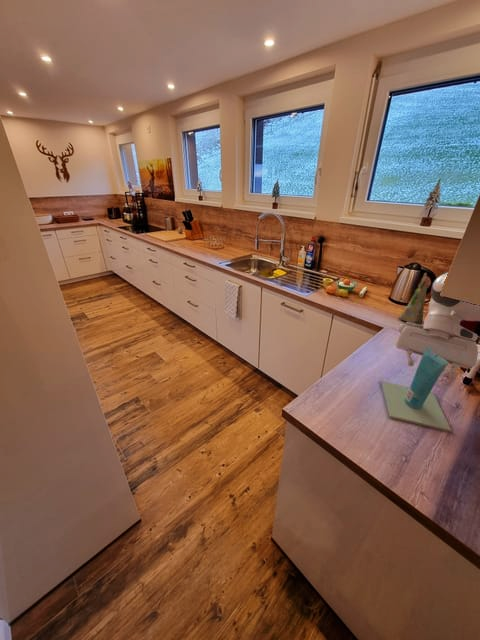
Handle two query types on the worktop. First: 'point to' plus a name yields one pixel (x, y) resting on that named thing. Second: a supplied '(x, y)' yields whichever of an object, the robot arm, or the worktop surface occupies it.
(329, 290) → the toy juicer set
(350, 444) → the worktop surface
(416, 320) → the pouch
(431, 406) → the mat
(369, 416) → the worktop surface
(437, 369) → the tube
